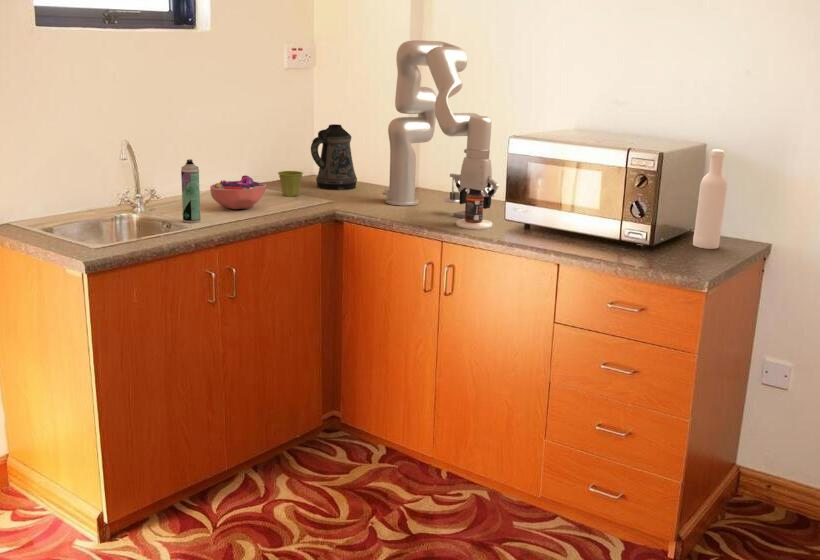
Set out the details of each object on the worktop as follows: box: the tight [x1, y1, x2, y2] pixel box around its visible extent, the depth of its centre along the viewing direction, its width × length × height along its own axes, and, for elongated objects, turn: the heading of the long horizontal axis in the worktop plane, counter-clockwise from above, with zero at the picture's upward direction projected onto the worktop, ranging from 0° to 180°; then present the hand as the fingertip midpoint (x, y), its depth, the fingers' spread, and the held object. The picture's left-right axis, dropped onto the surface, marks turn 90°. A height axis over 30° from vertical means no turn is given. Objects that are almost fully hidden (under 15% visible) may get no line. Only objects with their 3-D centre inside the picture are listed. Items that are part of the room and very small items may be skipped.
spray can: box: [180, 158, 201, 224], centre depth 277 cm, size 6×6×20 cm
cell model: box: [209, 175, 267, 210], centre depth 301 cm, size 17×20×11 cm
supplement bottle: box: [464, 189, 484, 223], centre depth 286 cm, size 6×6×11 cm
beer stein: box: [310, 123, 358, 191], centre depth 347 cm, size 16×19×25 cm
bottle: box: [692, 149, 728, 250], centre depth 266 cm, size 8×8×30 cm
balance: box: [443, 173, 495, 219], centre depth 300 cm, size 20×6×14 cm, turn 50°
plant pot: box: [277, 170, 304, 198], centre depth 329 cm, size 9×9×9 cm
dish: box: [455, 218, 493, 231], centre depth 288 cm, size 12×12×1 cm
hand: (474, 205), depth 286 cm, fingers open, 9 cm apart
